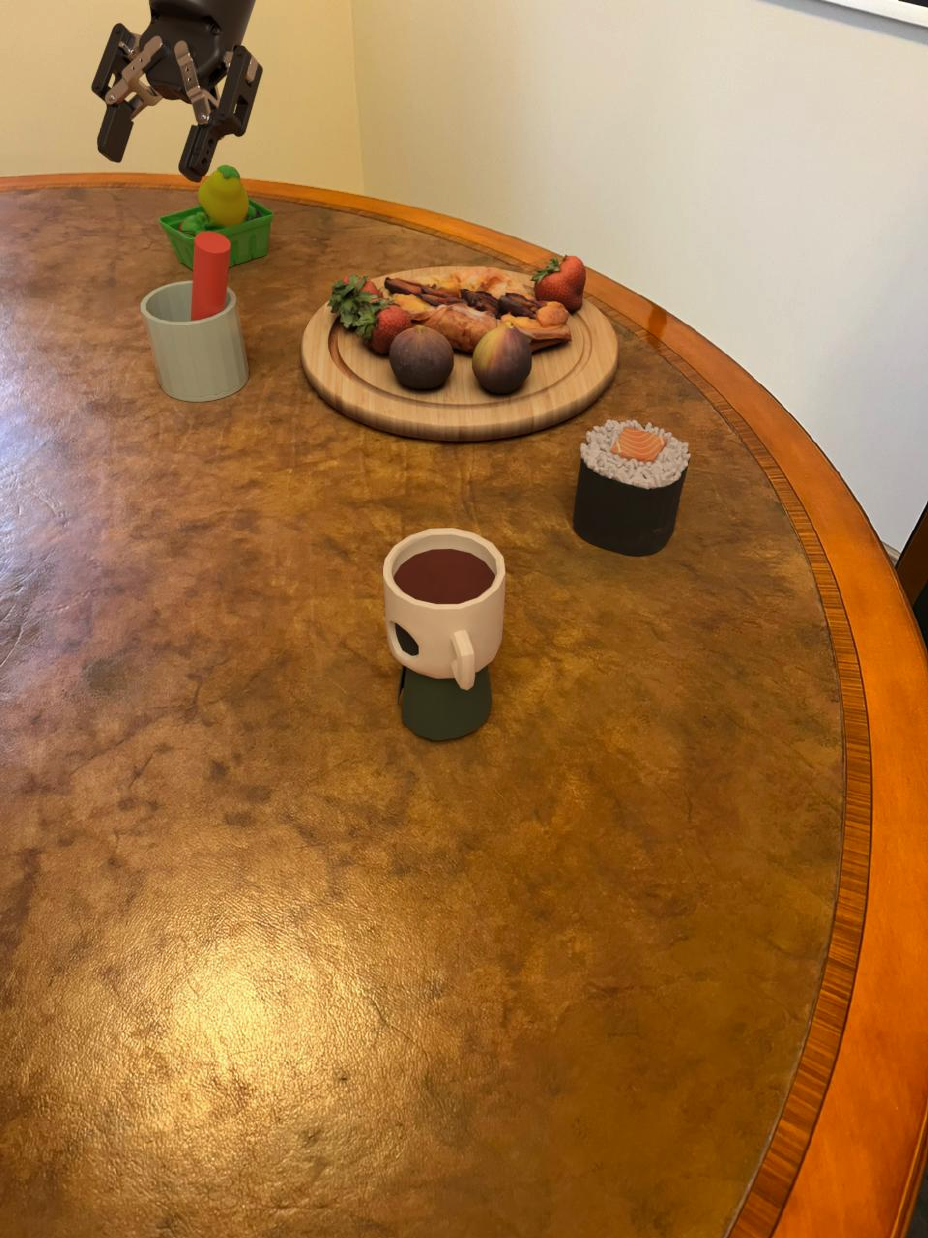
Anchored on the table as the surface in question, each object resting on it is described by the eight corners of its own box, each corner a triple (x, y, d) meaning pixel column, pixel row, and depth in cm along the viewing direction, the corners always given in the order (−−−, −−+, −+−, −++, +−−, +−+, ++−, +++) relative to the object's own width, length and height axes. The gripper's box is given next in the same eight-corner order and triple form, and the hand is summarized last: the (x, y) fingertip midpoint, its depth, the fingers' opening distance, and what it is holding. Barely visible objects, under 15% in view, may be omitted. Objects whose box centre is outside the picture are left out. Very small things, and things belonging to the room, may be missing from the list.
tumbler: (150, 401, 88) (129, 323, 83) (171, 354, 94) (153, 279, 89) (240, 403, 88) (225, 325, 83) (256, 356, 94) (243, 280, 89)
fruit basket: (246, 234, 115) (231, 136, 107) (288, 258, 110) (275, 158, 102) (164, 261, 109) (141, 160, 101) (204, 288, 105) (184, 184, 97)
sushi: (592, 482, 80) (603, 402, 75) (686, 509, 78) (705, 429, 72) (557, 536, 75) (566, 455, 69) (656, 568, 73) (674, 486, 67)
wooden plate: (547, 268, 109) (552, 196, 103) (673, 413, 88) (689, 333, 82) (275, 307, 102) (264, 231, 96) (342, 475, 80) (333, 391, 75)
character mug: (376, 660, 66) (365, 517, 56) (474, 642, 67) (478, 499, 58) (411, 786, 58) (404, 645, 49) (519, 762, 60) (532, 621, 50)
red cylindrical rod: (185, 374, 89) (191, 246, 79) (191, 355, 91) (198, 227, 80) (216, 382, 90) (227, 256, 79) (222, 362, 92) (233, 236, 81)
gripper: (113, -72, 74) (49, 127, 75) (258, -52, 69) (188, 159, 70) (171, -7, 81) (112, 174, 82) (307, 15, 76) (242, 206, 77)
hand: (147, 167), depth 76 cm, fingers open, 8 cm apart
